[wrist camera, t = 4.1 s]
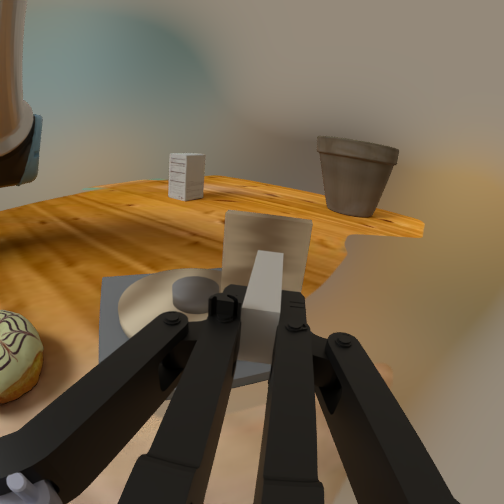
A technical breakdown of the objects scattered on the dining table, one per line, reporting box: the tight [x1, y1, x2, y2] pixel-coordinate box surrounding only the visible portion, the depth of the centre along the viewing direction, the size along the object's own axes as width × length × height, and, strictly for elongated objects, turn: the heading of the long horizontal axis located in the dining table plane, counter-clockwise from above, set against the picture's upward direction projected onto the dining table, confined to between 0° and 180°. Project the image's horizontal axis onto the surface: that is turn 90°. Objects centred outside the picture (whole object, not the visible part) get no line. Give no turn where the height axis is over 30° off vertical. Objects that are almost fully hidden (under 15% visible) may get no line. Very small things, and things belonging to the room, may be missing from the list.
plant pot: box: [317, 136, 399, 217], centre depth 84 cm, size 25×25×22 cm
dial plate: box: [99, 268, 271, 400], centre depth 29 cm, size 19×19×1 cm
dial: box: [118, 210, 312, 339], centre depth 26 cm, size 17×15×10 cm
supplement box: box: [168, 153, 205, 201], centre depth 81 cm, size 7×7×13 cm
